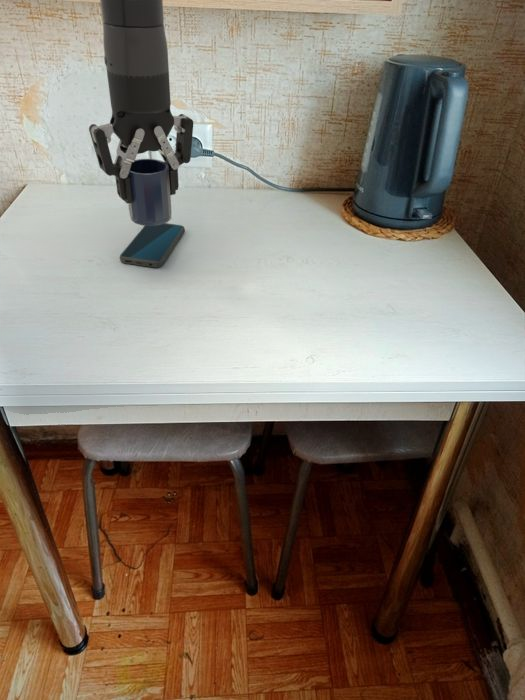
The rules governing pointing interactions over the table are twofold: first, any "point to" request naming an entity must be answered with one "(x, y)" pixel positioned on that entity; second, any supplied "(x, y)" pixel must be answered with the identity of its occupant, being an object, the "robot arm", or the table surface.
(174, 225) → the smartphone
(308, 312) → the table surface
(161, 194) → the pot
